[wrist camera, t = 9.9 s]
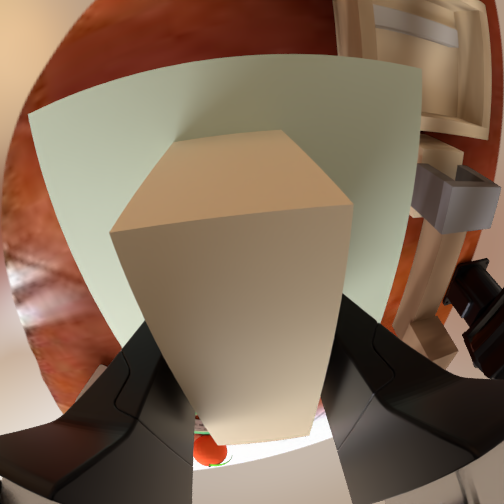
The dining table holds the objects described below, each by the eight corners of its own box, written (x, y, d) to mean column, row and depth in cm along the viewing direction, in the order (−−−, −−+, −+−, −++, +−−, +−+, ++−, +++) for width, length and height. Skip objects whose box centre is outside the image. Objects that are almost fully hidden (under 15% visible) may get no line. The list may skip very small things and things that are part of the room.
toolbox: (454, 6, 12) (528, 5, 4) (449, 187, 22) (510, 236, 15) (328, -30, 11) (386, -75, 4) (338, 192, 22) (390, 256, 14)
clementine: (233, 430, 47) (235, 463, 41) (230, 440, 51) (232, 470, 45) (191, 429, 46) (190, 462, 40) (192, 439, 50) (192, 469, 44)
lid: (405, 67, 7) (552, 98, 2) (368, 325, 14) (409, 421, 9) (44, 109, 7) (-91, 173, 2) (137, 351, 14) (121, 454, 9)
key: (452, 205, 17) (508, 255, 12) (415, 319, 24) (444, 371, 18) (423, 207, 17) (480, 262, 11) (389, 326, 24) (416, 382, 18)
